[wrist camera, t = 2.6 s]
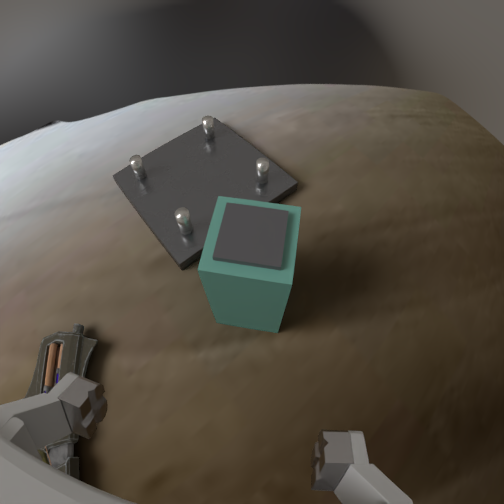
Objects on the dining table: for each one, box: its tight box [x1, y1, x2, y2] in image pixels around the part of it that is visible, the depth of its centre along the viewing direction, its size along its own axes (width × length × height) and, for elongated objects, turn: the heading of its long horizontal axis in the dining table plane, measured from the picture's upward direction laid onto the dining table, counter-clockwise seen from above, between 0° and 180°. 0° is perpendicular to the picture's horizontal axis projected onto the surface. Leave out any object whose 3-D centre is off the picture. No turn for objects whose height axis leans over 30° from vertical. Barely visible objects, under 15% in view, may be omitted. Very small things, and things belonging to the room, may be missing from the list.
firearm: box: [23, 324, 98, 480], centre depth 19 cm, size 4×22×15 cm
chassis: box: [113, 116, 298, 270], centre depth 31 cm, size 14×14×4 cm
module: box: [198, 196, 301, 333], centre depth 22 cm, size 5×5×10 cm
